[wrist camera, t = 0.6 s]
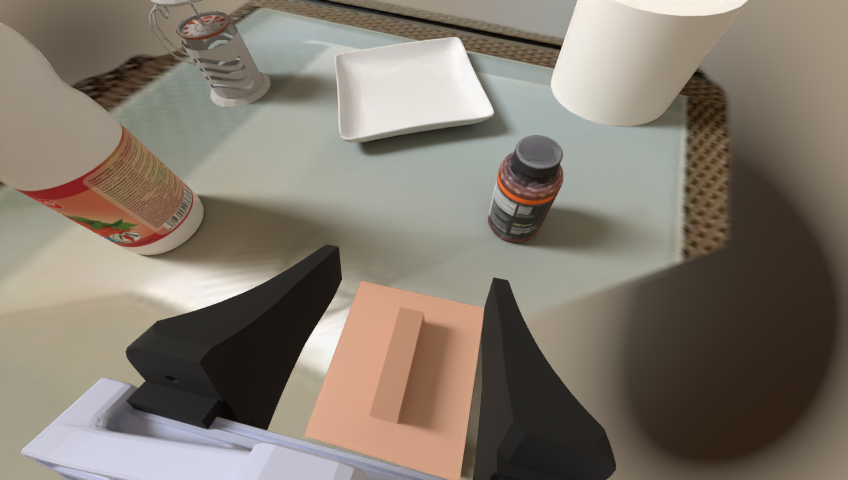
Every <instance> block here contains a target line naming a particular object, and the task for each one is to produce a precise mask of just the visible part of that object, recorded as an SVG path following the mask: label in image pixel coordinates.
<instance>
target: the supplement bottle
mask: <svg viewBox="0 0 848 480" xmlns="http://www.w3.org/2000/svg"><path fill="white" fill-rule="evenodd" d="M562 157H563V152H562V149H561V147H560V146H559V145H558V143H556V142H555V141H554V140H552V139H550V138H548V137H545V136H539V135H532V136H528V137H525V138H523V139H522V140H520V141H519V142H518V144H517V146H516V148H515V152H513V153H511V154H509V155H508V156H507V157H506V158H505V159H504V160H503V162H502V164H501V166H500V169H499V173H498V176H497V180H496V184H495V188H494V193H493V197H492V201H491V206H490V210H489V215H488V222H489V225H490V227H491V229H492V231H493V232H494V233H495V234H496V235H497V236H498V237H500V238H501V239H504V240H506V241H509V242H523V241H526V240H529V239H531V238H532V237H533V236H534V235H535V234H536V233H537V232H538V230H539V229H540V227H541V225H542V223H543V221H544V219H545V217H546V215H547V213H548V211H549V209H550V207H551V205H552V204H553V202H554V200H555V198H556V196H557V194H558V192H559V190H560V188H561V186H562V182H563V170H562V167H561V165H560V162H561V160H562Z"/></svg>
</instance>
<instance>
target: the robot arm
mask: <svg viewBox="0 0 848 480" xmlns="http://www.w3.org/2000/svg"><path fill="white" fill-rule="evenodd" d="M341 280H342V274H341V264H340V254H339V247H337V246H332V245H325V246H323V247H322V248H320V249H319V250H317V251H316V252H314V253H313V254H311V255H310V256H308V257H307V258H305V259H304V260H302V261H300V262H299V263H297V264H296V265H294V266H293V267H291V268H289V269H288V270H286V271H284V272H282V273H281V274H279V275H277V276H276V277H274V278H272V279H270V280H269V281H267V282H265V283H263V284H261V285H259V286H257V287H255V288H253V289H250V290H248V291H246V292H244V293H242V294H239V295H237V296H234V297H232V298H229V299H227V300H224V301H222V302H219V303H217V304H214V305H211V306H208V307H205V308H202V309H199V310H196V311H193V312H189V313H186V314H182V315H178V316H175V317H171V318H167V319H164V320H160V321H157V322H156V323H155V324H153V325H152V326H151V327H150V328H149V329H148V330H147V331H146V332H144V333H143V334H142V335H141V336H140V337H139V338H138V339H136V340H135V341H134V342H133V343H132V344H131V345H130V346H128V347H127V350H126V356H127V358H128V360H129V361H130V363H131V364H132V365H133V366H134V368H135V369H136V370H137V371H138V372H139V373H140V375H141V376H142V377H143V378H144V379H145V380H146V381H145V382H144V383H143V384H142V385H141V386H140V387H139V388H137V387H136V386H134V385H132V384H129V383H126V382H122V381H118V380H115V379H111V378H107V377H104V378H101V379H100V380H99V381H98V382H97V383H96V384H95V385H94V386H92V387H91V388H90V389H89V390H88V391H87V392H86V393H85V394H84V395H82V396H81V397H80V398H79V399H78V400H77V401H76V402H75V403H74V404H72V405H71V406H70V407H69V408H68V409H67V410H66V411H65V412H64V413H62V414H61V415H60V416H59V417H58V418H57V419H56V420H55V421H54V422H52V423H51V424H50V425H49V426H48V427H47V428H46V429H45V430H44V431H42V432H41V433H40V434H39V435H38V436H37V437H36V438H35V439H34V440H32V441H31V442H30V443H29V444H28V445H27V446H26V447H25V448H24V449H22V452H21V454H23V455H25V456H27V457H28V458H30V459H32V460H34V461H35V462H37V463H39V464H41V465H43V466H44V467H46V468H48V469H50V470H51V471H53V472H55V473H57V474H58V475H60V476H62V477H64V478H66V479H67V480H445V479H441V478H438V477H434V476H431V475H427V474H423V473H420V472H416V471H412V470H409V469H405V468H401V467H398V466H394V465H391V464H387V463H383V462H380V461H376V460H372V459H369V458H365V457H361V456H358V455H354V454H350V453H347V452H343V451H340V450H336V449H332V448H329V447H325V446H321V445H318V444H314V443H310V442H307V441H303V440H300V439H296V438H292V437H289V436H285V435H281V434H278V433H274V432H270V431H267V429H268V427H269V424H270V422H271V419H272V417H273V414H274V412H275V409H276V407H277V404H278V402H279V399H280V397H281V395H282V392H283V390H284V388H285V385H286V383H287V381H288V379H289V377H290V374H291V372H292V370H293V368H294V366H295V364H296V362H297V360H298V357H299V355H300V353H301V351H302V349H303V347H304V345H305V343H306V342H307V340H308V338H309V336H310V335H311V333H312V332H313V330H314V328H315V327H316V325H317V324H318V322H319V320H320V319H321V317H322V316H323V314H324V312H325V311H326V309H327V308H328V306H329V304H330V303H331V301H332V299H333V298H334V296H335V294H336V291H337V289H338V287H339V285H340V282H341ZM615 470H616V463H615V459H614V455H613V452H612V448H611V446H610V443H609V440H608V437H607V435H606V432H605V430H604V429H603V427H602V426H601V425H600V424H599V423H598V422H597V421H596V420H595V419H594V418H593V417H592V416H591V415H590V414H589V413H588V412H587V410H586V409H585V408H584V407H583V406H582V405H581V404H580V403H579V402H578V400H577V399H576V398H575V397H574V396H573V395H572V394H571V392H570V391H569V390H568V388H567V387H566V386H565V385H564V383H563V382H562V381H561V379H560V378H559V377H558V375H557V374H556V373H555V371H554V370H553V369H552V367H551V366H550V364H549V363H548V361H547V360H546V358H545V357H544V355H543V354H542V352H541V351H540V349H539V347H538V346H537V344H536V342H535V340H534V339H533V337H532V335H531V333H530V331H529V329H528V327H527V325H526V323H525V321H524V319H523V317H522V315H521V312H520V310H519V308H518V306H517V303H516V301H515V298H514V295H513V293H512V290H511V287H510V284H509V282H508V280H504V279H498V278H493V281H492V284H491V287H490V291H489V294H488V297H487V301H486V304H485V308H484V315H483V324H482V395H481V407H480V418H479V428H478V438H477V448H476V457H475V466H474V475H473V480H606V479H607V478H609V477H610V476H611V475H612V474H613V472H614V471H615Z"/></svg>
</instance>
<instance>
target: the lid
mask: <svg viewBox="0 0 848 480" xmlns="http://www.w3.org/2000/svg"><path fill="white" fill-rule="evenodd" d="M483 315H484V308H483V307H479V306H474V305H470V304H465V303H460V302H456V301H451V300H447V299H442V298H437V297H433V296H428V295H424V294H419V293H414V292H410V291H405V290H400V289H396V288H391V287H387V286H382V285H377V284H373V283H368V282H364V281H360V284H359V287H358V289H357V292H356V295H355V298H354V300H353V303H352V306H351V309H350V311H349V314H348V317H347V319H346V322H345V325H344V328H343V330H342V333H341V336H340V339H339V341H338V344H337V347H336V350H335V352H334V355H333V358H332V361H331V363H330V366H329V369H328V372H327V374H326V377H325V380H324V382H323V385H322V388H321V391H320V393H319V396H318V399H317V402H316V404H315V407H314V410H313V413H312V415H311V418H310V421H309V424H308V426H307V429H306V432H305V434H304V436H307V437H311V438H314V439H317V440H320V441H324V442H327V443H330V444H334V445H337V446H340V447H344V448H347V449H350V450H353V451H357V452H360V453H363V454H367V455H370V456H373V457H376V458H380V459H383V460H386V461H390V462H393V463H396V464H399V465H403V466H406V467H409V468H413V469H416V470H419V471H423V472H426V473H429V474H432V475H436V476H439V477H442V478H446V479H449V480H460V475H461V468H462V461H463V454H464V448H465V441H466V434H467V427H468V420H469V413H470V406H471V400H472V393H473V386H474V379H475V372H476V365H477V359H478V352H479V345H480V338H481V331H482V324H483Z"/></svg>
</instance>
